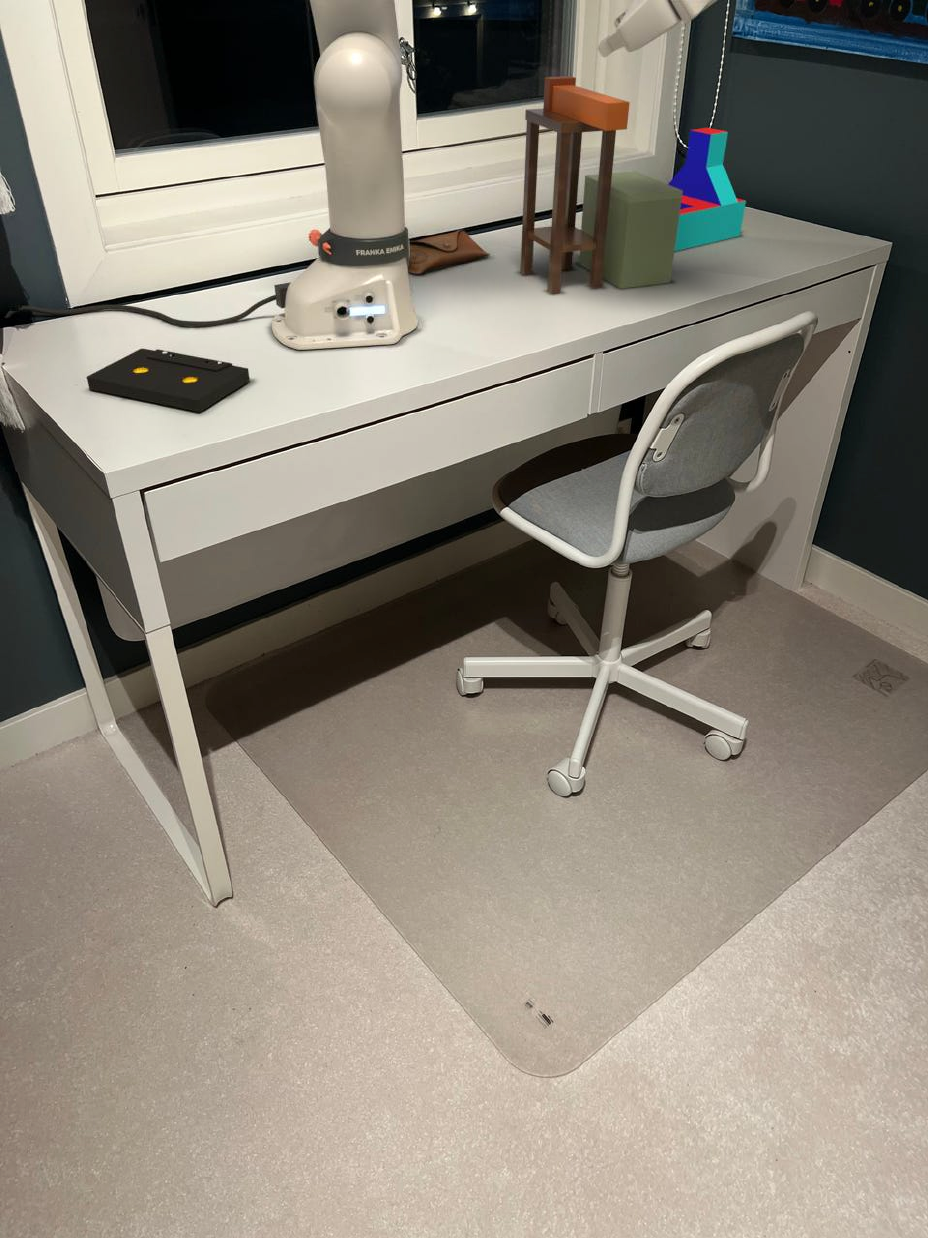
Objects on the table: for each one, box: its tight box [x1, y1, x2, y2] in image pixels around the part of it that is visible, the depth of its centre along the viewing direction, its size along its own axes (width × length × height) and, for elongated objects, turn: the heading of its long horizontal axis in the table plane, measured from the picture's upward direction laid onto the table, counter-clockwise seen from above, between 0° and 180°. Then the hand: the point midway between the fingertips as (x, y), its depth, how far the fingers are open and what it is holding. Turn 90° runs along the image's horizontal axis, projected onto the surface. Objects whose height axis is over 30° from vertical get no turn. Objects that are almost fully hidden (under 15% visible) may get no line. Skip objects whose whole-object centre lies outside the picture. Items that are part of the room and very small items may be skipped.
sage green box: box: [578, 170, 683, 290], centre depth 166 cm, size 10×16×15 cm, turn 22°
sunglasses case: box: [408, 228, 491, 275], centre depth 174 cm, size 18×7×7 cm, turn 132°
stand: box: [519, 108, 617, 295], centre depth 159 cm, size 10×13×26 cm
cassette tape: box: [86, 348, 250, 413], centre depth 128 cm, size 18×12×2 cm, turn 67°
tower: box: [542, 75, 631, 131], centre depth 146 cm, size 5×20×5 cm, turn 22°
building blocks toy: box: [667, 127, 747, 252], centre depth 188 cm, size 19×25×18 cm
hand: (609, 38), depth 133 cm, fingers open, 8 cm apart
